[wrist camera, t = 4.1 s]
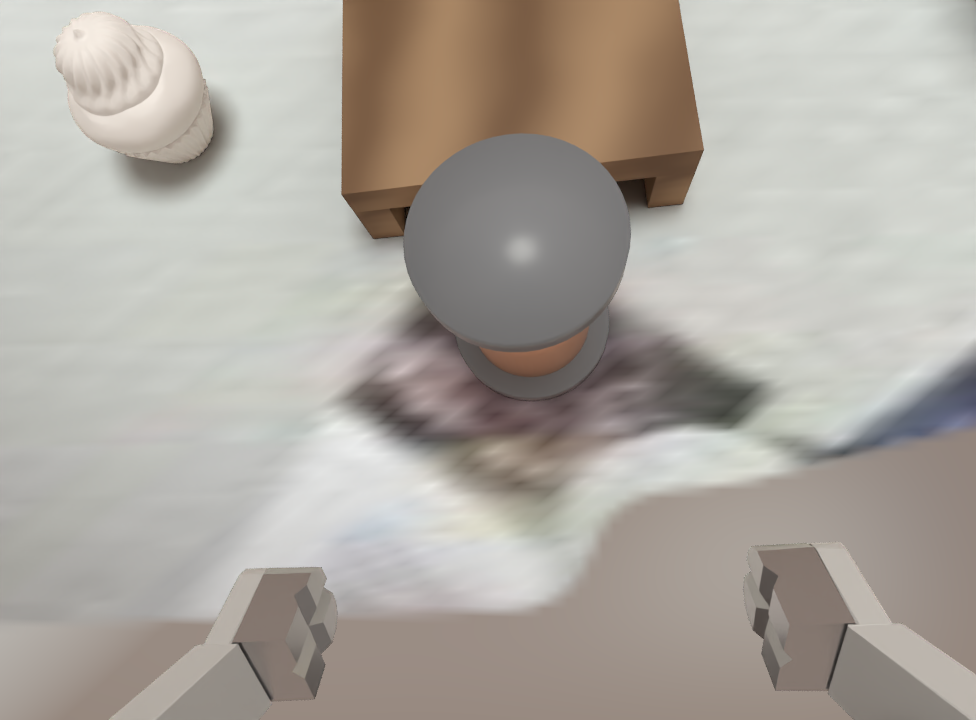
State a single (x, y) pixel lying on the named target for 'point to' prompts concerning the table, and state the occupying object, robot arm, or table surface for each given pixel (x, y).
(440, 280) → the cord spool
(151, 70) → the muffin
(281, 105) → the table surface
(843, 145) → the table surface
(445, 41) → the shelf stand
